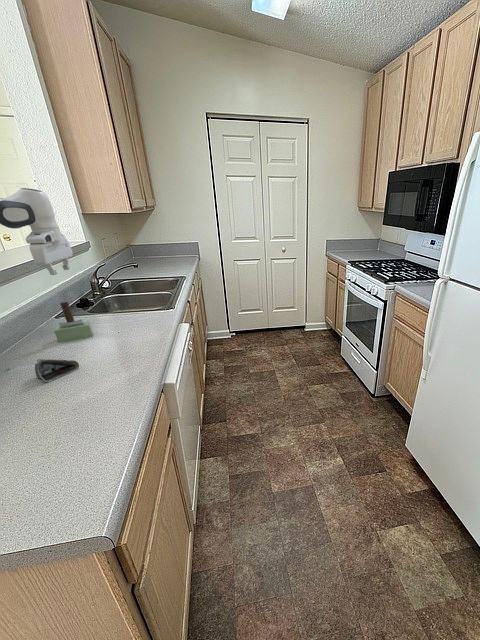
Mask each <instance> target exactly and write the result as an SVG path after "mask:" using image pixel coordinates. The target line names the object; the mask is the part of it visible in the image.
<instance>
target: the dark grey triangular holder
mask: <svg viewBox="0 0 480 640" xmlns="http://www.w3.org/2000/svg"><path fill="white" fill-rule="evenodd" d="M79 368H80V363H79V362H78V361H77V360H73V359H71V360H66V359H50V358H49V359H45V358H42V359H41V358H39V359H36V363H34V371H35V377H36V378H37V379H40V380H41V381H43V382H44V383H49V382H53V381H54V380H57V379H59V378H62V377H64V376H66V375H67V374H70V373H72V372H75V371H77V370H78V369H79Z"/></svg>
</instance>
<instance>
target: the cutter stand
mask: <svg viewBox="0 0 480 640" xmlns="http://www.w3.org/2000/svg"><path fill="white" fill-rule="evenodd" d="M83 323H84V325H78V326H72V327H65V328H60V325H58V326H55V327H54V330H53V332H54V335H55V337H56V340H57V343H64V342H70V341H76V340H82V339H88V338H93V337H94V330H93V328H92V324H91V322H90V321H83Z"/></svg>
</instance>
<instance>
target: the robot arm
mask: <svg viewBox="0 0 480 640" xmlns="http://www.w3.org/2000/svg"><path fill="white" fill-rule="evenodd" d="M0 225H1V226H3V227H6V228H8V229H12V230H14V229H15V230H17V229H21V228H24V227H28V226H29V227H30V230H31V232H30V233H29V234H28V235H27V236H26V237H25V242H26V244H29V251H30V254H31V256H32V259H33V261H34V263H35V264H36V265H37V266H44V267H45V268H46V270H47V271H48V273H49V275H50V276H55V275H57V274H58V273H57V270H56V269H54V267H53V263H56V262H58V261H61V262H62V265H61V266H62V269H63V271H68V270H70V269H71V268H70V260H69V258H71V257H73V256H74V253H73V249H72V246H71V244H70V242H69V240H68V239H67V238H66V236H65V235H63V233H62V232H61V229H60V226H59V224H58V222H57V220H56V213H55V211H54V208H53V206H52V203H51V201H50V198H49V197H48V195H47V193H45V192H44V191H42V190H40V189H34V188H27V187H21V188H19V189H18V190H17V191H16V192H14V193H13V194H11V195H9V196H7V197H4V198H1V197H0Z"/></svg>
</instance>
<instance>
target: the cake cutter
mask: <svg viewBox="0 0 480 640" xmlns="http://www.w3.org/2000/svg"><path fill="white" fill-rule="evenodd" d="M59 305H60V307H61V310H62V313H63V315H64V318H65V321H63V322H58V326H60V328H65V327H72V326H78V325H84V323H83V322H84V320H83V319H75V318H74V315H73V313H72V310H71V307H70V303H69V301H68V300H62V301H60V302H59Z"/></svg>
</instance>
